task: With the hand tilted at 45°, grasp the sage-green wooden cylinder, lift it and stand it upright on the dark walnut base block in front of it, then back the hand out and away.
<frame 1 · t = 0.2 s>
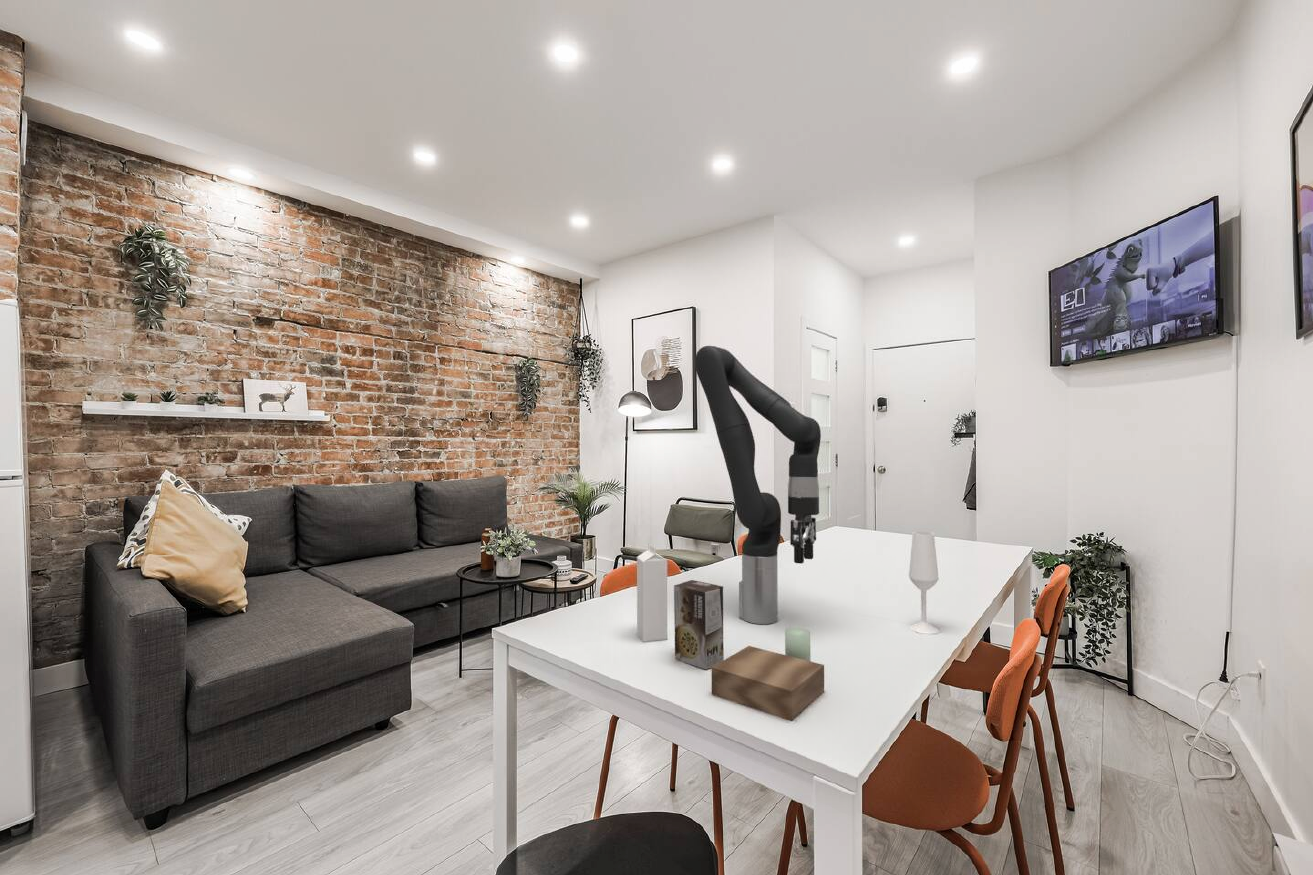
hand: (803, 560, 139), 17 cm above the table, tool pointing down, fingers open, 8 cm apart
walnut base: (768, 692, 104), on the table
milk: (652, 637, 135), on the table
champagne flute: (923, 630, 139), on the table
sage cylinder: (797, 670, 115), on the table
coffee box: (698, 661, 120), on the table
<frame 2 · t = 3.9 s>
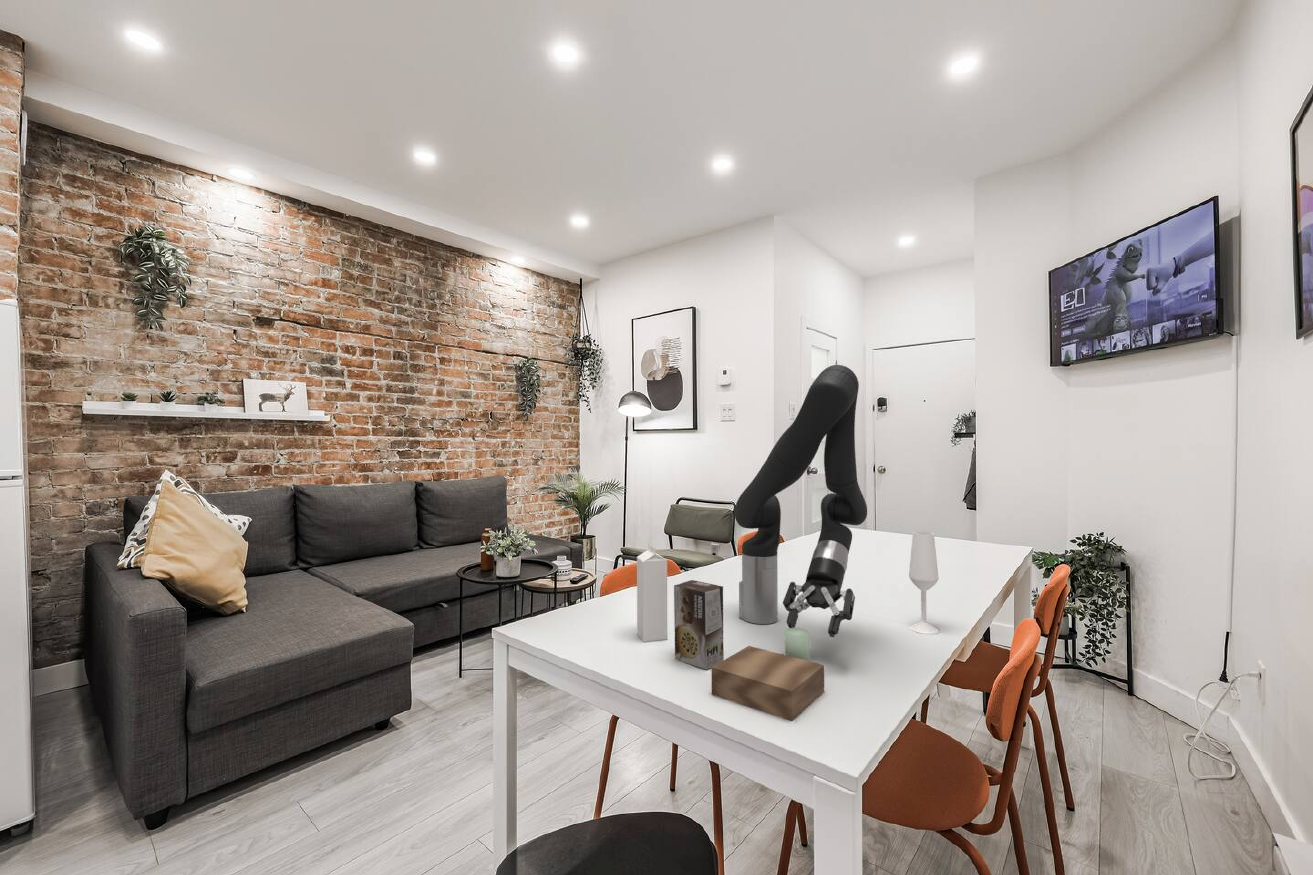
hand: (810, 631, 115), 8 cm above the table, tool tilted 45°, fingers open, 8 cm apart
sage cylinder: (797, 670, 115), on the table, touching gripper
everything else where it was.
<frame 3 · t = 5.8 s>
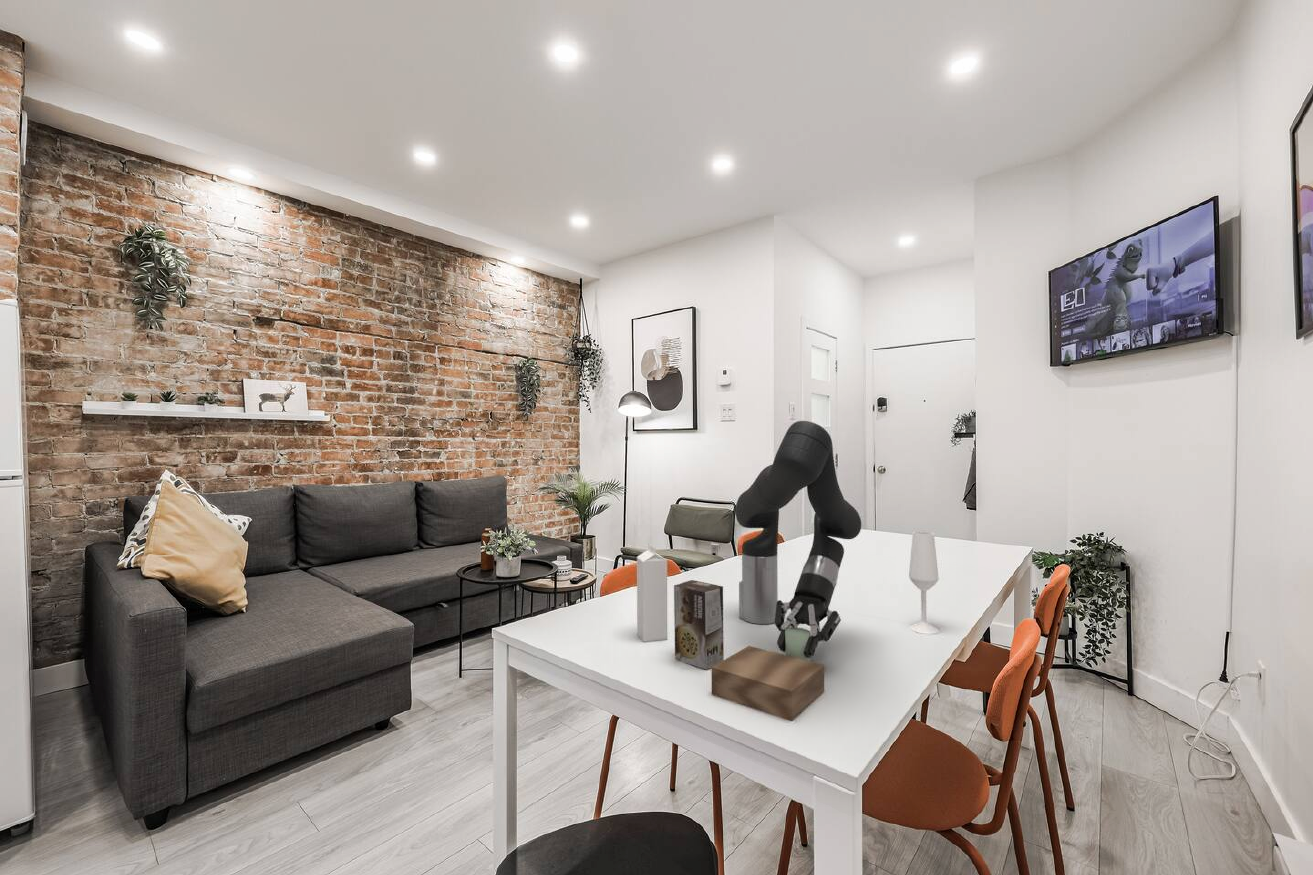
hand: (794, 652, 113), 4 cm above the table, tool tilted 45°, fingers closed on sage cylinder, 5 cm apart
sage cylinder: (797, 670, 114), on the table, touching gripper
everything else where it was.
when the fingers open (11 cm above the table, at t = 11.0 s): sage cylinder drops 1 cm, resting on walnut base.
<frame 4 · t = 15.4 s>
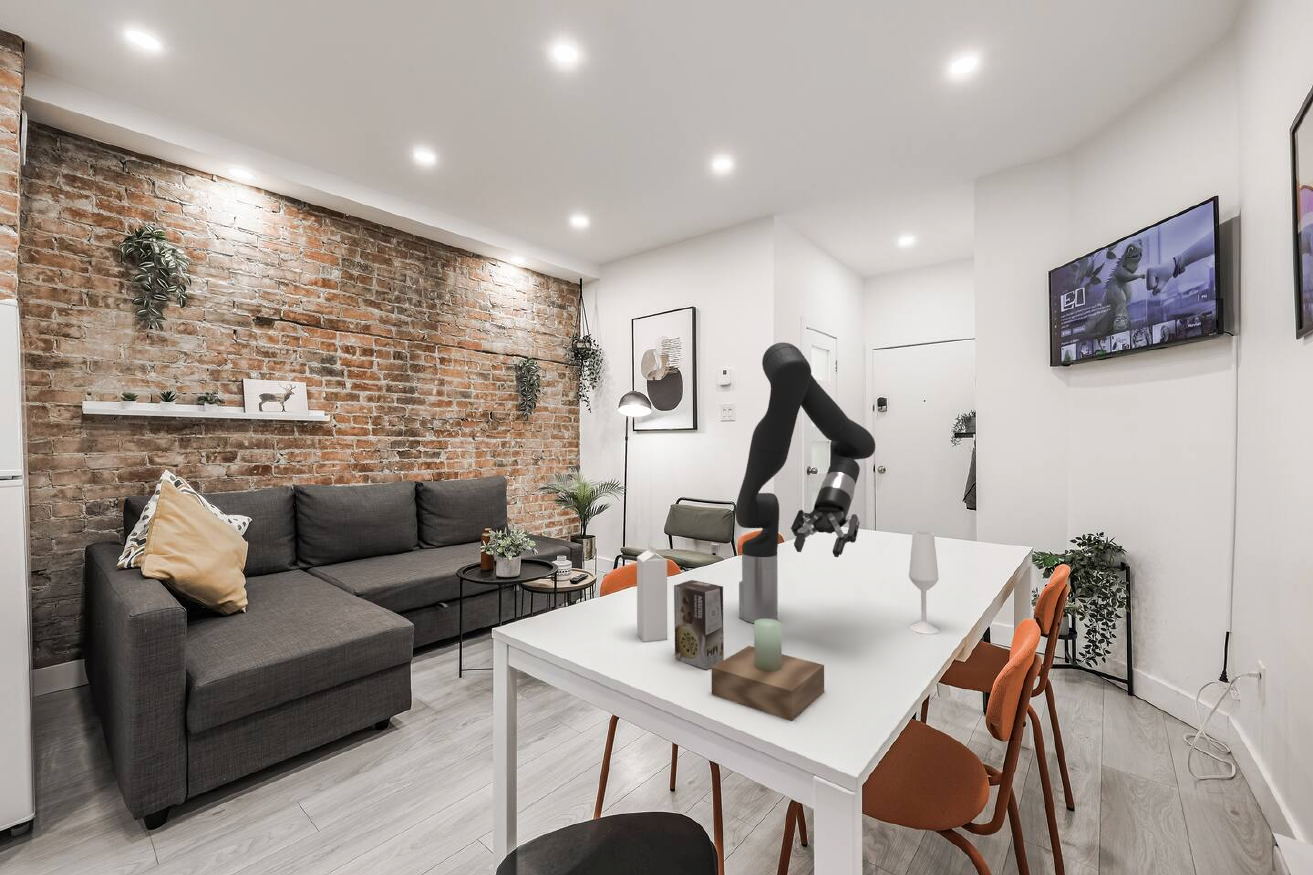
hand: (816, 552, 122), 23 cm above the table, tool tilted 45°, fingers open, 8 cm apart
sage cylinder: (767, 665, 105), point 5 cm above the table, touching walnut base
everything else where it was.
at the end: sage cylinder inside the target area on the walnut base (0.2 cm from its centre), point 5.0 cm above the walnut base's base; sage cylinder tilted 0°; the gripper is holding nothing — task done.
